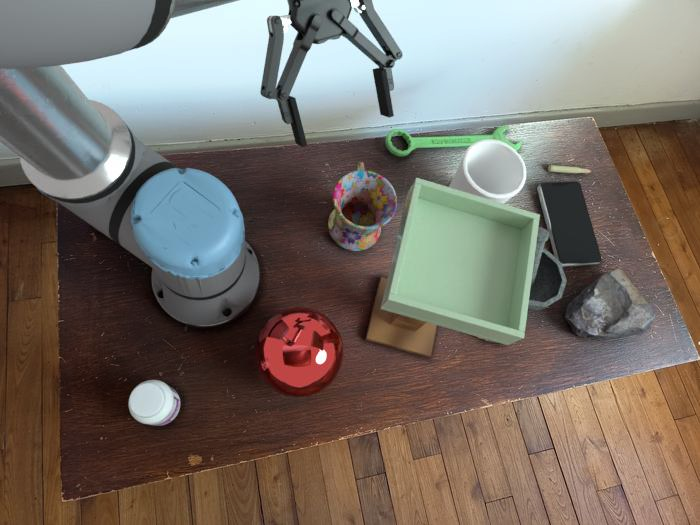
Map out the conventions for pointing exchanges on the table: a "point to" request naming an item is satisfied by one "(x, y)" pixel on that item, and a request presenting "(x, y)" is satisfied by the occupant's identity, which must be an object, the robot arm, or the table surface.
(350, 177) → the mug
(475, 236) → the tray
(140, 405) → the pill bottle
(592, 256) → the smartphone
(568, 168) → the bullet
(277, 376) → the ball
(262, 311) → the table surface
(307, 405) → the table surface
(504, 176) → the cup
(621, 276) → the rock
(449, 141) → the wrench
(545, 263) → the mortar and pestle
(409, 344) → the stand
